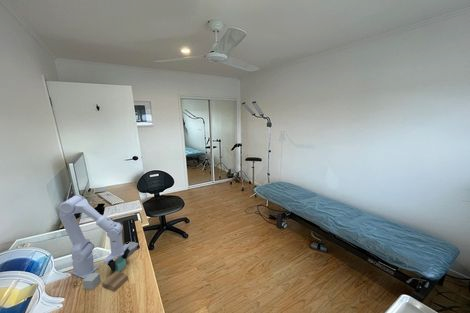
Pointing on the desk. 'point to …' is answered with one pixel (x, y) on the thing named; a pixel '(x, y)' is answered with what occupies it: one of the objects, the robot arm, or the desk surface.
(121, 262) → the teal cube
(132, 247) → the stone block
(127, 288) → the desk surface
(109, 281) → the walnut base block
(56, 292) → the desk surface
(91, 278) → the grey cube
